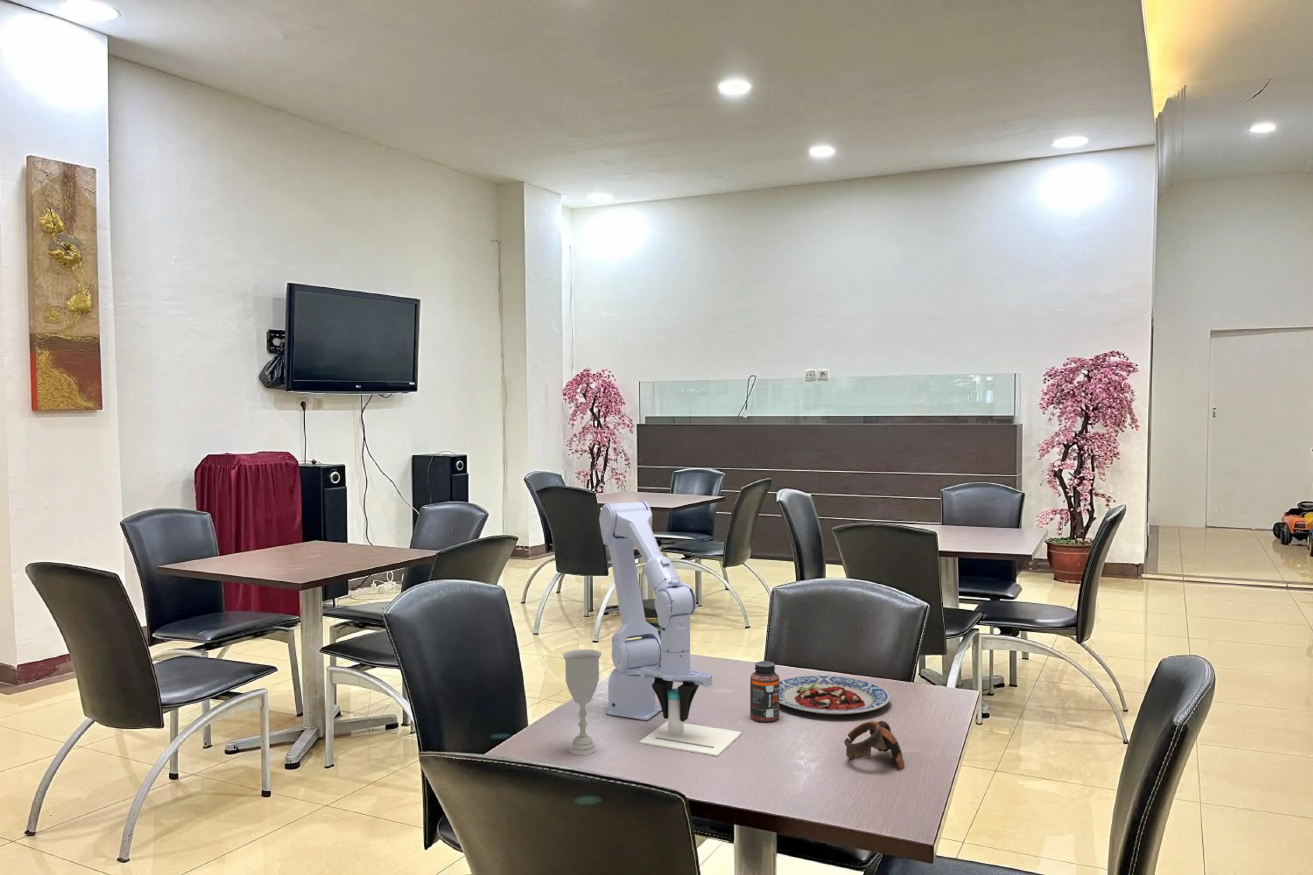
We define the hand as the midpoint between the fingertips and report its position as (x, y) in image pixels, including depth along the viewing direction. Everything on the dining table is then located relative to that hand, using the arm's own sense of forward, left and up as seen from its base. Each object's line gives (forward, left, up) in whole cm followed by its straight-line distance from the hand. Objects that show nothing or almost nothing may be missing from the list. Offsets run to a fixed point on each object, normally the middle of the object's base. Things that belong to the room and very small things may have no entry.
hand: (675, 718), depth 181 cm
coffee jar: (-20, +34, -4) cm, 40 cm away
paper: (+3, 0, -3) cm, 5 cm away
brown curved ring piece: (+38, +3, -4) cm, 38 cm away
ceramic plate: (+21, +33, -4) cm, 40 cm away
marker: (0, 0, -3) cm, 3 cm away
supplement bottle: (+12, +17, -4) cm, 21 cm away
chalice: (-13, -14, -4) cm, 19 cm away
